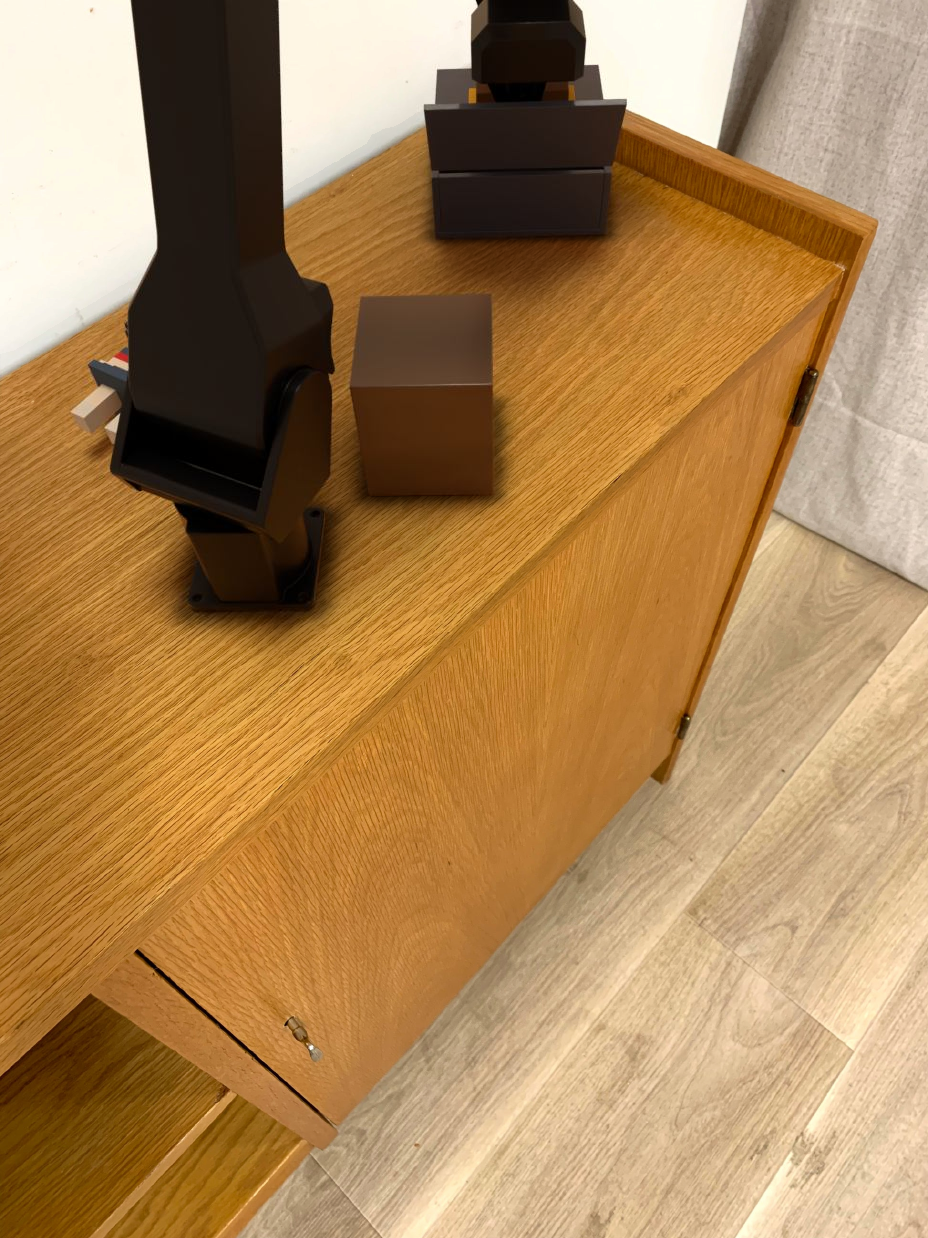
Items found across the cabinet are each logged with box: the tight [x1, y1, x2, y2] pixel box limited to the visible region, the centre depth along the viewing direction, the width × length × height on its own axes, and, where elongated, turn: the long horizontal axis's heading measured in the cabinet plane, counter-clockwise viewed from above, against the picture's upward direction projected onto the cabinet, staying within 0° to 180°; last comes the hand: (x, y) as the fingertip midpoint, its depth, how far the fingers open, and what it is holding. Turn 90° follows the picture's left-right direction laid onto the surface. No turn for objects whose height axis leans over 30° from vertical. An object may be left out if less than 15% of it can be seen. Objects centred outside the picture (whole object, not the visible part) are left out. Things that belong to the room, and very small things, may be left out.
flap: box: [423, 98, 628, 172], centre depth 55 cm, size 6×12×1 cm
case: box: [430, 64, 613, 239], centre depth 64 cm, size 13×12×5 cm
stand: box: [348, 293, 495, 497], centre depth 48 cm, size 7×7×8 cm
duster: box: [469, 82, 575, 103], centre depth 59 cm, size 7×4×3 cm, turn 89°
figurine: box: [70, 317, 128, 445], centre depth 54 cm, size 9×4×15 cm
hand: (520, 127), depth 60 cm, fingers closed on duster, 4 cm apart
